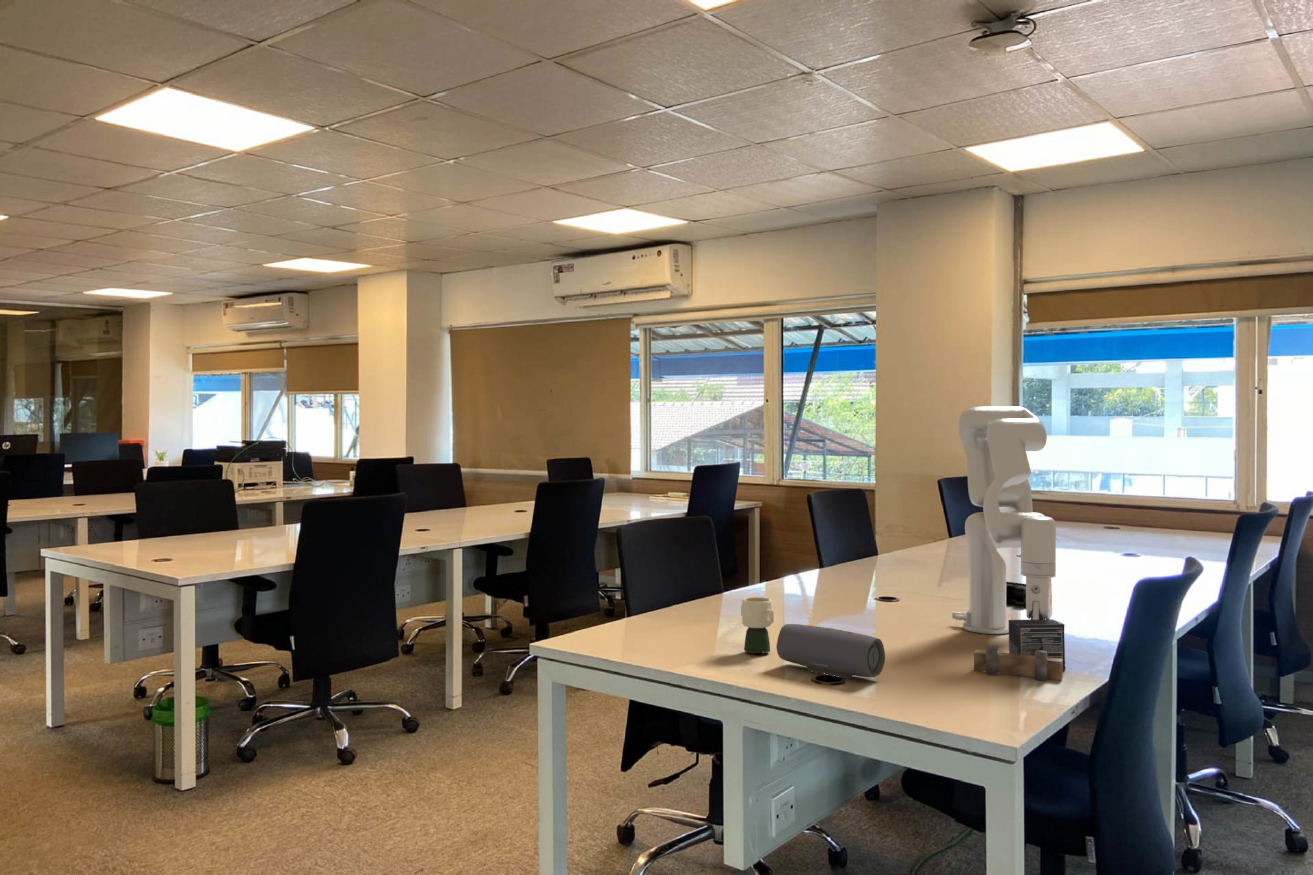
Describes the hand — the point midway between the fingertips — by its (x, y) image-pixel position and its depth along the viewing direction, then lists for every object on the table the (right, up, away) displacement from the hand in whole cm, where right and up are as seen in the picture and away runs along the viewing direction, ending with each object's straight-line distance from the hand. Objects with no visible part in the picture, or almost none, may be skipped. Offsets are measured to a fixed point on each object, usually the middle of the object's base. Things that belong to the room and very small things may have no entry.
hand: (1037, 647), depth 213 cm
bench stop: (-10, -3, -14) cm, 18 cm away
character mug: (-65, -3, +7) cm, 65 cm away
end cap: (+21, -3, +67) cm, 70 cm away
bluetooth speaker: (-51, -3, -12) cm, 52 cm away
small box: (-3, -3, -7) cm, 9 cm away
